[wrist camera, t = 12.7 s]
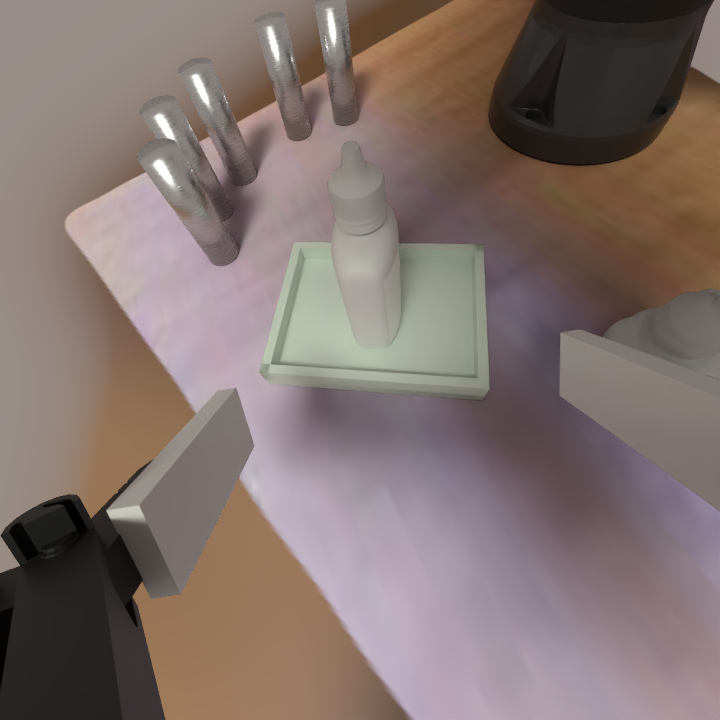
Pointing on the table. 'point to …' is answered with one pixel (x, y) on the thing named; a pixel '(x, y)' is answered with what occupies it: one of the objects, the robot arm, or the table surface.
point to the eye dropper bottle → (365, 249)
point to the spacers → (183, 152)
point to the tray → (414, 336)
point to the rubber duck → (677, 331)
